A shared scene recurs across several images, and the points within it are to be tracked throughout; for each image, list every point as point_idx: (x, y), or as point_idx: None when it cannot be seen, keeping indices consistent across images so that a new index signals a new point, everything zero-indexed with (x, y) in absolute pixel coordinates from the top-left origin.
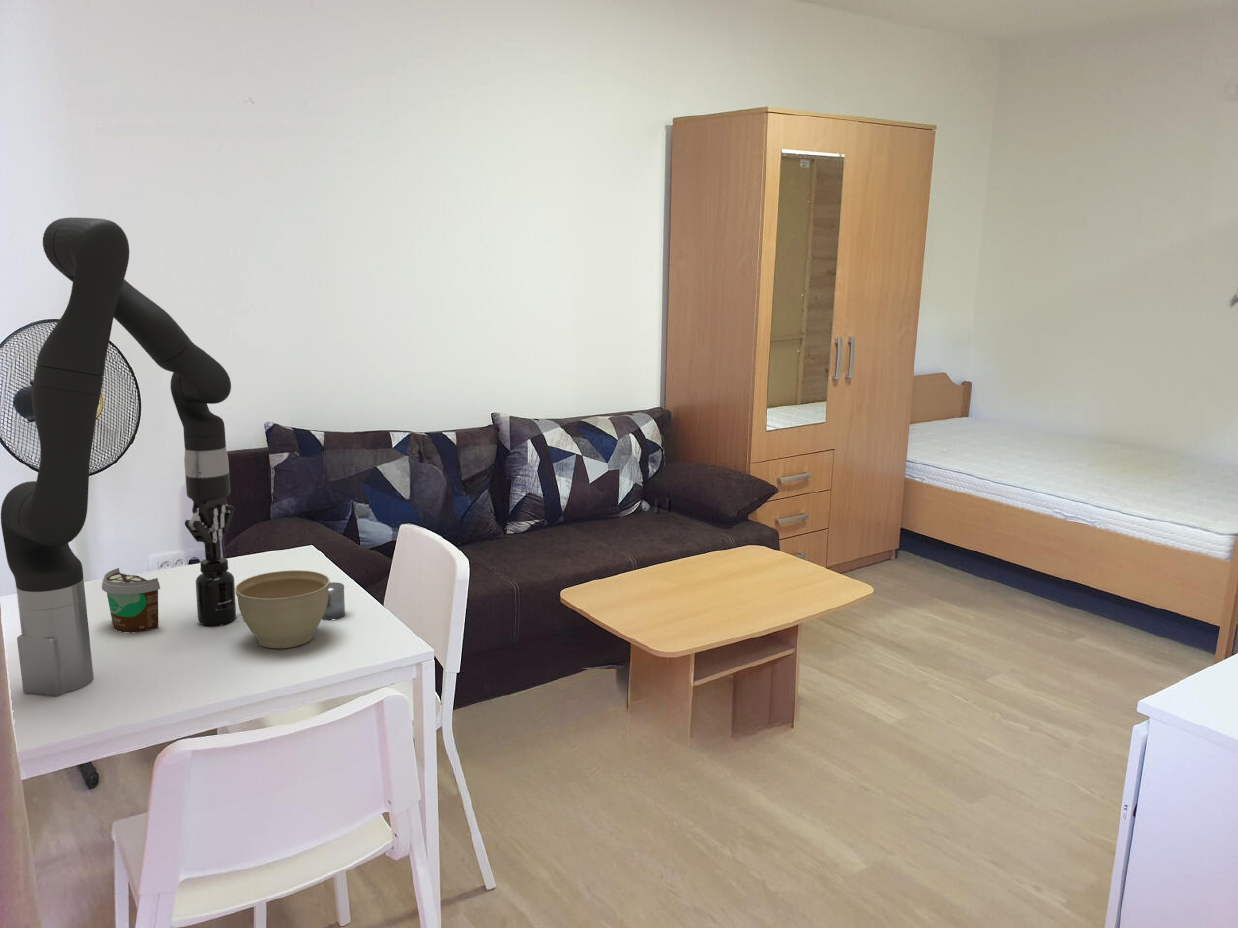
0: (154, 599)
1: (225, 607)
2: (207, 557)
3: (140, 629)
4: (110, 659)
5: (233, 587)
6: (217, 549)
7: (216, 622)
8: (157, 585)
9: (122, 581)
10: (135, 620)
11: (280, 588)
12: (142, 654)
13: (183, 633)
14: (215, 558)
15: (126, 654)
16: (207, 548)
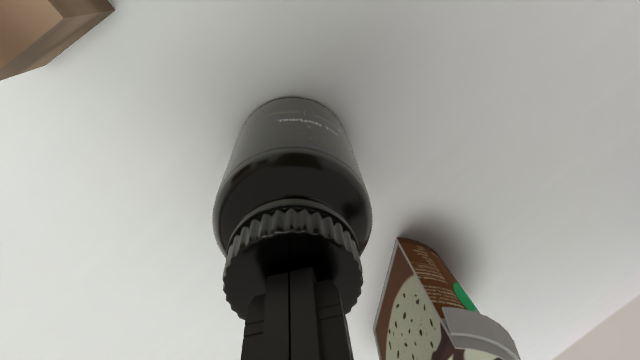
0: (437, 291)
1: (312, 116)
2: (343, 310)
3: (435, 253)
4: (599, 180)
5: (259, 143)
6: (296, 322)
7: (335, 116)
8: (454, 320)
9: None
10: (452, 275)
11: None
12: (562, 139)
13: (409, 157)
14: (314, 279)
15: (566, 172)
16: (351, 358)
